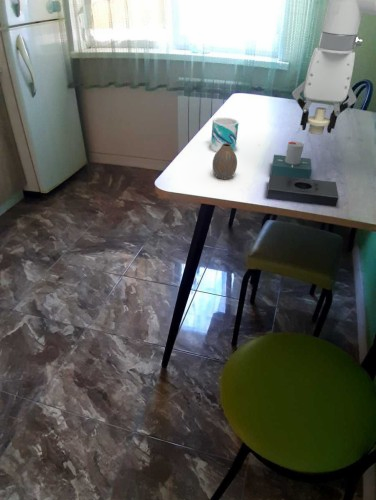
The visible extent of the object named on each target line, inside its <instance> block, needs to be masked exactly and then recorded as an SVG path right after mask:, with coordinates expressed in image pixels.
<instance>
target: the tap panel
mask: <svg viewBox="0 0 376 500" xmlns="http://www.w3.org/2000/svg"><path fill="white" fill-rule="evenodd" d="M285 158H286V155H282V154H274V155H273V159H272V164H271V173H270V175H278V176H287V177H296V178H304V179H311V174H312V170H313V168H312V167H313V166H312V158H308V157H301V160H300V163H299V164H296V165H293V164H288V163H286V162H285Z"/></svg>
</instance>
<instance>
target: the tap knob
mask: <svg viewBox="0 0 376 500" xmlns="http://www.w3.org/2000/svg"><path fill="white" fill-rule="evenodd" d="M304 147H305V144H304V143H302V142H301V141H288V143H287V150H286V153H285V156H286V158H285V162H286V163H288V164H293V165H296V164H299V163H300V160H301V158H302V155H303V151H304Z"/></svg>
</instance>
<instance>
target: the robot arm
mask: <svg viewBox="0 0 376 500" xmlns="http://www.w3.org/2000/svg"><path fill="white" fill-rule="evenodd" d="M363 14H366V15H370V16H375V17H376V0H328V1H327V6H326V11H325V15H324V16H325V17H324V20H323V23H322V24H323V25H322V29H321V34H320V39H319V43H318V47H315V48H314V50H313V52H312V55H311V57H310V61H309V65H308V69H307V72H306V75H305V80H303V82H301V84H300V85H298V87H296V88H295V89H294V90H293V91H292V93H291V95H292V97H293V99H294V100H295V102H296V103H297V104H298V106H299V107H300V109H301V110H302V113H301V118H300V123H299V126H301V130H302V131H306V129H307V124H308V123H307V120H308V117H310V116H309V115H310V107H311V105H312V104H313V102H314V101H317V102H328V103H333V110H332V112H331V113H330V114H329V115H330V116H329V118H328V119H329V120H330V123H329V125H328V126H326V127H327V128H326V131H327V134H331V133H332V130H334V129H335V127H336V123H337V120H338V116H339V115H340V114H342V112H344V111H345V110H347V109H348V108H349V107H350V106H352V105H353V104H355V103H357V99H358V98H357V96H356V94H355V92H354V91H353V89H352V87H351V82H352V77H353V73H354V65H355V59H356V51H355V48H356V47H361V46H362V44H363V38H362V37H361V38H360V37H359V36H358V32H359V29H360V24H361V22H362V17H363ZM301 93H303V97H304V98H305V100H304V99H303V97H302V96H301ZM347 97H348V98H347ZM340 103H341V104H340Z"/></svg>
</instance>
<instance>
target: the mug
mask: <svg viewBox="0 0 376 500" xmlns="http://www.w3.org/2000/svg"><path fill="white" fill-rule="evenodd" d="M211 125H212V126H211V140H210V149H211V151H214V152H216V153H217V151H218V150H219V149H220V148H221V146H222V145H223V144H225V143H227V144H230V145H231V147H232V149H233V151H234V152H235V151H236V149H237V139H238V131H239V121H238V119H235V118H232V117H223V116H222V117H216V118H214V119H212V124H211Z"/></svg>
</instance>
